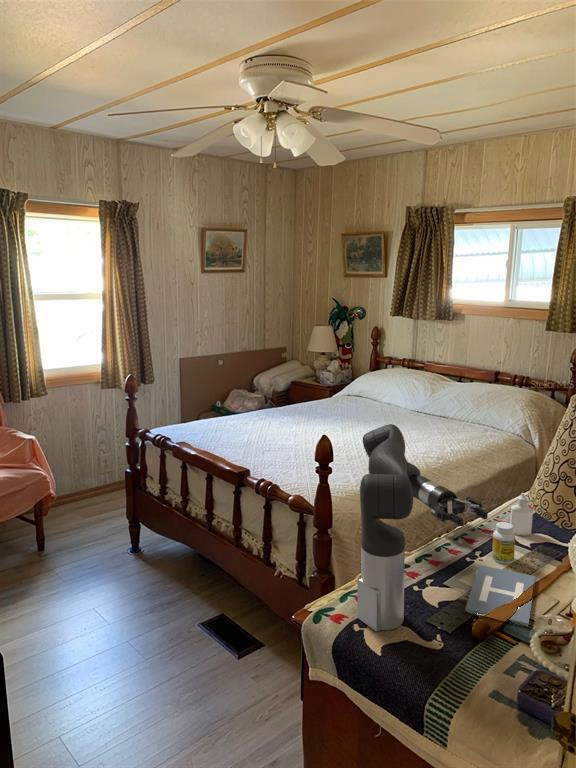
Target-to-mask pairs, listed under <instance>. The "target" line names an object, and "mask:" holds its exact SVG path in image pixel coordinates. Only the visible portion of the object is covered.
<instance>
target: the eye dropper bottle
mask: <svg viewBox="0 0 576 768" xmlns="http://www.w3.org/2000/svg"><path fill="white" fill-rule="evenodd" d="M529 506H530V505H528V497H526V496H525V493H524V492H521V494H520V495H519V496H518V497H517V503H516V504H514V505H511V508H510V515H509V516H510V519H509V523H510V524H512V525H513V531H512V532H513V533H514V534H515V536H517V535H518V536H530V535H532V531H533V530H532V529H533V517H534V513H533V511H534V510H533V508H532V507H531V506H530V507H531V508H532V509H531V508H530V507H529Z"/></svg>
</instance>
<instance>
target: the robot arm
mask: <svg viewBox="0 0 576 768" xmlns="http://www.w3.org/2000/svg"><path fill="white" fill-rule="evenodd" d="M362 443H363V447H364V450H365V453H366V455H367V457H368V473H366V474H364V475H363V476H362V477H361V480H360V485H359V501H360V502H359V503H360V516H361V517H360V519H361V522H360V523H361V539H360V540H361V541H360V545H361V547H360V551H361V552H360V561H361V563H360V565H361V567H360V569H361V570H360V576H361V577H360V578H358V579H357V619H358V620H360V621H361V622H362V623H364V624H365V625H367V626H368V627H369V628H370V629H372V630H373V631H374V632H375V633H376V632H379V631H389V630H394V629H396V628H399V627H400V626H402V624H403V623H404V615H405V614H404V613H405V562H406V561H405V559H406V558H405V556H406V554H405V553H406V538H405V536H404V533H403V532H402V530H400V529H399V528H397V527H395V526H393V525H391V524H388V523H387V522H384V521H382V520H403V519H406V518H408V517H409V516H410V514H411V513H412V509H413V507H414V505H413V504H414V498H415V499H416V500H418V501H420V502H421V503H422V504H424V505H425V506H427V507H428V508H429V509H430V514H431V515H432V516H433V517H435V518H437V520H439V521H441V522H444V523H445V522H446V521H448V522H451V523H454V524H455V525H457V526H460V527H462V526H463V525H464V519H463V517H461V516H459V514H464V515H470V514H471V515H476V516H477V517H479V518H481V519H482V520H487V519H488V515H489V514H488V511H486V510H484V509H483V502H480V501H479V500H477V499H474V498H473V497H471V496H466V498H465V499H464V500H463V499H462V498H461V499H460V498H458V497H457V494H455V492H454V491H452V490H451V489H448V488H447V487H445V486H443V485H442V484H440V483H438V482H434V481H432V480H431V479H429V478H427V477H426V476H423V475H421V471H420V469H419V467H417V466H416V465H415V464H413V463H411V462H408V460H407V458H406V455H405V454H406V453H405V452H406V443H405V438H404V434H403V433H402V431H401V430H400V428H399V427H398V426H397V425H395V424H393V423H391V424H385V425H383V426H380V427H378V428H375V429H372V430H370V431H367V432H366V433H364V435H363V437H362ZM466 507H467V508H466ZM466 509H467V510H466Z"/></svg>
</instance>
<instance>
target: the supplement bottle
mask: <svg viewBox="0 0 576 768" xmlns="http://www.w3.org/2000/svg"><path fill="white" fill-rule="evenodd" d="M512 531H513V525H512V524H510V522H507V521H498V522H497V523H496V525H495V530H494V531H493V533H492V551H491V554H492V555H491V557H492V559H493V560H494V561H495V562H496V561H497V562H496V563H498V562H500V563H499V564H502V563H509V564H511V562H512V563H513V562H514V560H515V550H516V549H515V546H516V535H515V534H514V533H513V532H512Z"/></svg>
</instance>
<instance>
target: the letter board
mask: <svg viewBox="0 0 576 768" xmlns="http://www.w3.org/2000/svg"><path fill="white" fill-rule="evenodd" d="M534 582H535V583H536V575H531V574H527V573H522V572H515V571H512V570H511V571H510V570H507V569H501V568H496V567H492V566H488V565H487V566H486V565H481V564H479V565H478V569H477V571H476V575H475V577H474V580H473V583H472V587H471V590H470V593H469V596H468V599H467V602H466V605H465V608H464V611H468V612H472V613H476V614H477V613H478V614H487V613H488V612H491V611H492V610H494V609H495V608H496V607H499V606H501V605H504V604H507V603H509V602H511V601H513V600H514V599H516V598H518V597H519V596H520V595H521V594H522V593H523V592H524V591H526V590H527V589H528V588H529V587H530V586H532V585H533V584H534V585H535V583H534ZM531 604H533V599H532V600H531V601H529V602H528V603H526V604H524V605H523V606H521V607H518V609H517V611H516V613H515V614H514V615H513V616H512V617H511V618H510V619H509V620H510V621H512V622H516V623H520V624H523V625H529V626H530V620H531V619H530V618H531V613H530V611H532V605H531ZM529 619H530V620H529Z"/></svg>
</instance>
